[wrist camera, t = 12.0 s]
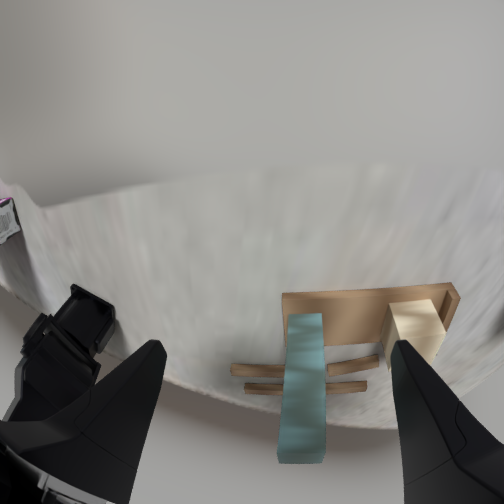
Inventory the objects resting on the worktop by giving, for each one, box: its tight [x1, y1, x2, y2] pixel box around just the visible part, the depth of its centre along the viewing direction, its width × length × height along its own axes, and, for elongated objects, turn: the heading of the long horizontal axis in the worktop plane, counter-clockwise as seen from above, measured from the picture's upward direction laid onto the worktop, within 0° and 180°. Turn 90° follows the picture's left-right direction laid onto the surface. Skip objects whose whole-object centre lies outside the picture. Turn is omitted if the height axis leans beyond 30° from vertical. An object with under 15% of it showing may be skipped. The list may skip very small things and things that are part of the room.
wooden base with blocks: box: [277, 283, 461, 464], centre depth 19 cm, size 17×6×14 cm, turn 97°
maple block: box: [381, 299, 446, 372], centre depth 21 cm, size 4×4×4 cm
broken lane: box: [230, 355, 379, 395], centre depth 30 cm, size 18×7×1 cm, turn 97°
